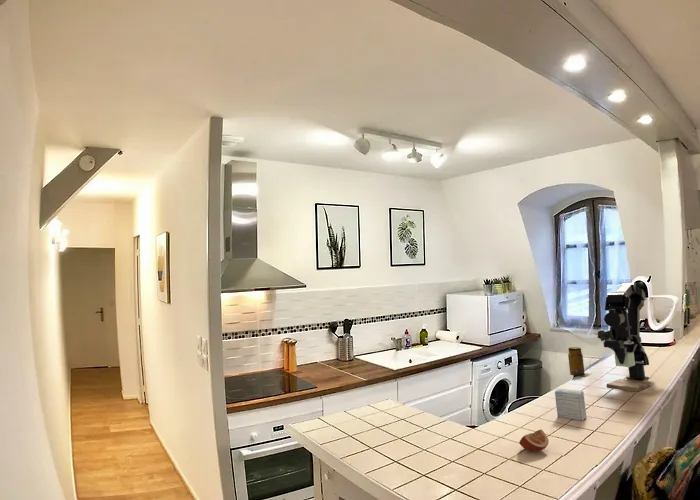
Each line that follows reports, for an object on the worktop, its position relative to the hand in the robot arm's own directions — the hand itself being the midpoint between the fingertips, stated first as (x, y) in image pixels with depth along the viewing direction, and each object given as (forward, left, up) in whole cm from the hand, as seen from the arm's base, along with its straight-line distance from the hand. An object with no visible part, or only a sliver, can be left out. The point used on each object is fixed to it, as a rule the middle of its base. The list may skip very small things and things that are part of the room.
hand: (625, 362), depth 176 cm
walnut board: (0, 0, -9) cm, 9 cm away
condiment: (-9, -25, -10) cm, 28 cm away
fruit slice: (+81, +13, -10) cm, 83 cm away
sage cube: (0, 0, -1) cm, 1 cm away
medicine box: (+49, +5, -10) cm, 50 cm away
